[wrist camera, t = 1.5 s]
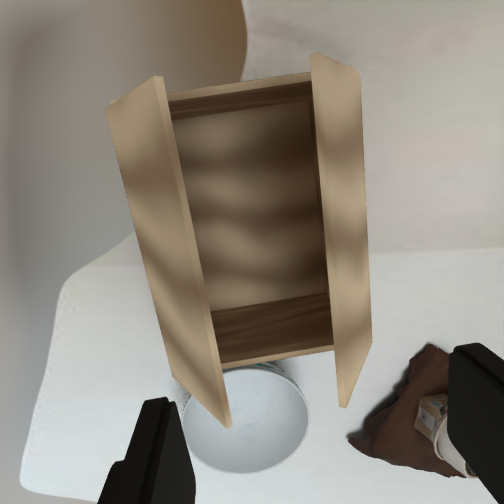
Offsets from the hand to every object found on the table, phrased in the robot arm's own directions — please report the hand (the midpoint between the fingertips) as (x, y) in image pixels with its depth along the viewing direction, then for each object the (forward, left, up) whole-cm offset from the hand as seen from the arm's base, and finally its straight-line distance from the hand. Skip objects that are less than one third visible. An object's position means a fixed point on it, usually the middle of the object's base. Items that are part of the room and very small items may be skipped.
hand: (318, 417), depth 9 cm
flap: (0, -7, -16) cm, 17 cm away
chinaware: (+23, -4, -32) cm, 40 cm away
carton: (0, 0, -32) cm, 32 cm away
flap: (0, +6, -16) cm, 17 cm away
